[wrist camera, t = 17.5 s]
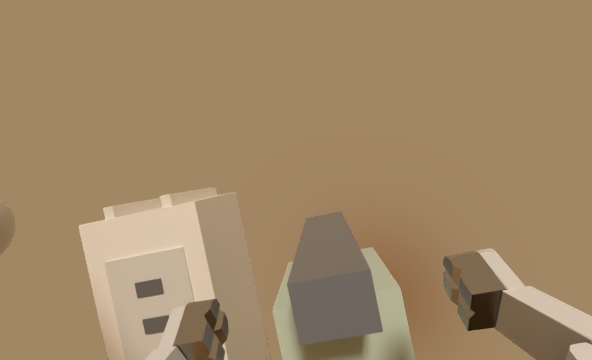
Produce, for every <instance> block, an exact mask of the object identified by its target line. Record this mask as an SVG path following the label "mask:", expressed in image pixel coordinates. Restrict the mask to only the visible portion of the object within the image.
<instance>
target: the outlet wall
mask: <svg viewBox="0 0 592 360" xmlns="http://www.w3.org/2000/svg"><path fill="white" fill-rule="evenodd" d="M103 210H104V215H105V220H101V221H97V222H92V223H87V224H83V225H79V230H80V235H81V239H82V244H83V249H84V253H85V258H86V262H87V267H88V271H89V276H90V281H91V285H92V290H93V294H94V299H95V303H96V308H97V313H98V317H99V322H100V326H101V331H102V335H103V340H104V344H105V349H106V354H107V358H108V360H145V359H146V358H147V357H148V355H149V354H150V353H151V352H152V351H153V350H156V349H158V347H159V344H160V341H161V338H162V336H163V333H164V330H165V327H166V325H167V322H168V319H169V316H170V313H171V311H172V309H173V308H174V306H175V305H179V304H185V303H191V302H197V301H204V300H210V299H217V300H218V302H219V303H220V308H219V310H221V311H223V312H225V314H226V316H227V320H228V330H229V331H228V338H227V340H226V341H225V343H224V344H223V345H222V346H223V348H224V350H225V356H224V360H271V358H270V353H269V348H268V344H267V339H266V334H265V329H264V325H263V320H262V316H261V311H260V306H259V301H258V296H257V291H256V287H255V282H254V277H253V272H252V268H251V263H250V258H249V253H248V249H247V244H246V239H245V234H244V230H243V225H242V220H241V215H240V211H239V206H238V201H237V196H236V192H230V193H226V194H221V195H217V191H216V187H211V188H205V189H199V190H193V191H186V192H179V193H173V194H168V195H163V196H160V198H156V199H151V200H145V201H139V202H134V203H128V204H122V205H116V206H110V207H106V208H103Z"/></svg>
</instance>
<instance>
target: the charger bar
mask: <svg viewBox="0 0 592 360" xmlns="http://www.w3.org/2000/svg"><path fill="white" fill-rule="evenodd" d="M287 287H288V292H289V297H290V302H291V306H292V311H293V316H294V321H295V325H296V330H297V335H298V340H299V345H304V344H310V343H317V342H323V341H329V340H335V339H342V338H348V337H354V336H361V335H367V334H373V333H379V332H383V328H382V323H381V318H380V313H379V308H378V304H377V299H376V294H375V289H374V284H373V279H372V274H371V269H370V267H369V265H368V263H367V261H366V259H365V257H364V255H363V254H362V252H361V250H360V248H359V246H358V244H357V242H356V240H355V238H354V236H353V234H352V232H351V230H350V228H349V226H348V224H347V222H346V220H345V218H344V216H343V214H342V212H336V213H331V214H326V215H321V216H315V217H311V218H306V221H305V224H304V228H303V231H302V234H301V238H300V241H299V245H298V248H297V251H296V255H295V258H294V262H293V265H292V268H291V272H290V275H289V278H288V282H287Z"/></svg>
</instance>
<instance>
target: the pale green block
mask: <svg viewBox="0 0 592 360" xmlns="http://www.w3.org/2000/svg"><path fill="white" fill-rule="evenodd" d="M360 250H361V252H362V254H363V255H364V257H365V259H366V261H367V263H368V265H369V267H370V269H371V274H372V279H373V284H374V289H375V294H376V299H377V304H378V308H379V313H380V318H381V323H382V328H383V332H379V333H373V334H367V335H361V336H354V337H348V338H342V339H335V340H329V341H323V342H317V343H310V344H304V345H299V340H298V335H297V330H296V325H295V321H294V316H293V311H292V306H291V302H290V297H289V292H288V287H287V282H288V278H289V275H290V272H291V268H292V265H293V262H289V263H288V266H287V269H286V272H285V275H284V278H283V281H282V284H281V287H280V290H279V293H278V295H277V298H276V301H275V304H274V307H273V310H272V311H273V316H274V321H275V326H276V330H277V335H278V340H279V345H280V349H281V354H282V359H283V360H415V357H414V352H413V347H412V343H411V338H410V332H409V328H408V323H407V318H406V313H405V308H404V303H403V298H402V293H401V289H400V287H399V285H398V284H397V283H396V281H395V280H394V278H393V277H392V275H391V274H390V272H389V271H388V269H387V268H386V266H385V265H384V263H383V262H382V261H381V259H380V258H379V256H378V255H377V253H376V252H375V250H374V249H373V248H372V247H370V248H365V249H360Z"/></svg>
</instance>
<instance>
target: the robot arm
mask: <svg viewBox="0 0 592 360" xmlns="http://www.w3.org/2000/svg"><path fill="white" fill-rule="evenodd" d="M15 227H16V225H15V219H14V215H13V213H12V211H11V210H10V208H9V207H8V206H7V204H6V203H5V202H4V201H2V200H1V199H0V255H1V254H3V252H4V251H5V250H6V249H7V248H8V246H9V245H10V243H11V242H12V239H13V237H14V234H15ZM443 265H444V266H445V268H446V271H445V272H444V273H443V282H444V287H445V290H446V292H447V294H448V296H449V298H450V300H451V301H452V302H454V303H455V304H457V305H458V314H459V316H460V318H461V320H462V322H463V323H464V325H465V327H466V329H467V330H468V331H472V330H480V329H487V328H495V327H496V328H495V329H496V330H497V331H499V332H500V333H501V334H503V335H504V336H505V337H507V338H508V339H509V340H511V341H512V342H513V343H515V344H516V345H517V346H519V347H520V348H521V349H523V350H524V351H525V352H527V353H528V354H529V355H531V356H532V357H534V358H535V359H536V360H592V316H590V315H588V314H586V313H584V312H582V311H580V310H578V309H576V308H573V307H572V306H570V305H568V304H566V303H564V302H562V301H559V300H558V299H556V298H554V297H552V296H550V295H548V294H546V293H544V292H542V291H539V290H538V289H535V288H534V287H532V286H527V287H525V285H524V284H523V283H522V282H521V281H520V280H519V278H518V277H517V276H516V275H515V274H514V273H513V272H512V270H511V269H510V268H509V267H508V265H507V264H506V263H505V262H504V261H503V260H502V259H501V257H500V256H499V255H498V254H497V253H496V252H495V250H493V249H492V248H489V249H483V250H479V251H471V252H466V253H461V254H456V255H451V256H446V257H445V258H444V262H443ZM219 308H220V303H219V302H218V300H217V299H210V300H204V301H197V302H191V303H185V304H179V305H175V306H174V308H173V309H172V311H171V313H170V316H169V319H168V322H167V325H166V327H165V330H164V333H163V336H162V338H161V341H160V344H159V347H158V349H156V350H153V351H152V352H151V353H150V354H149V355H148V357H147V358H146V359H145V360H224V356H225V350H224V348H223V346H222V345H223V344H224V343H225V341H226V340H227V338H228V331H229V330H228V320H227V316H226V314H225V312H223V311H221V310H219Z"/></svg>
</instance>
